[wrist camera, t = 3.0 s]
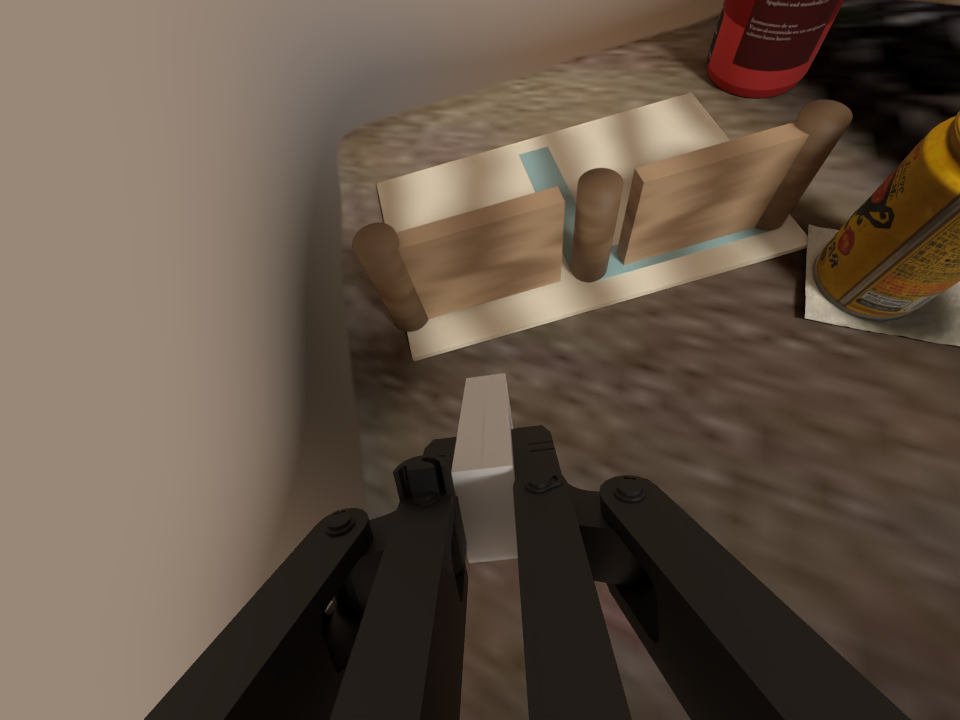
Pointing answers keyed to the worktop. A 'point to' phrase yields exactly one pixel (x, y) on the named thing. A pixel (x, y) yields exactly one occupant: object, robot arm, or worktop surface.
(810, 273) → the condiment
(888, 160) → the worktop surface
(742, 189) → the fence fixed
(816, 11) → the canned food
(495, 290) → the fence panel
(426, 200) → the board
